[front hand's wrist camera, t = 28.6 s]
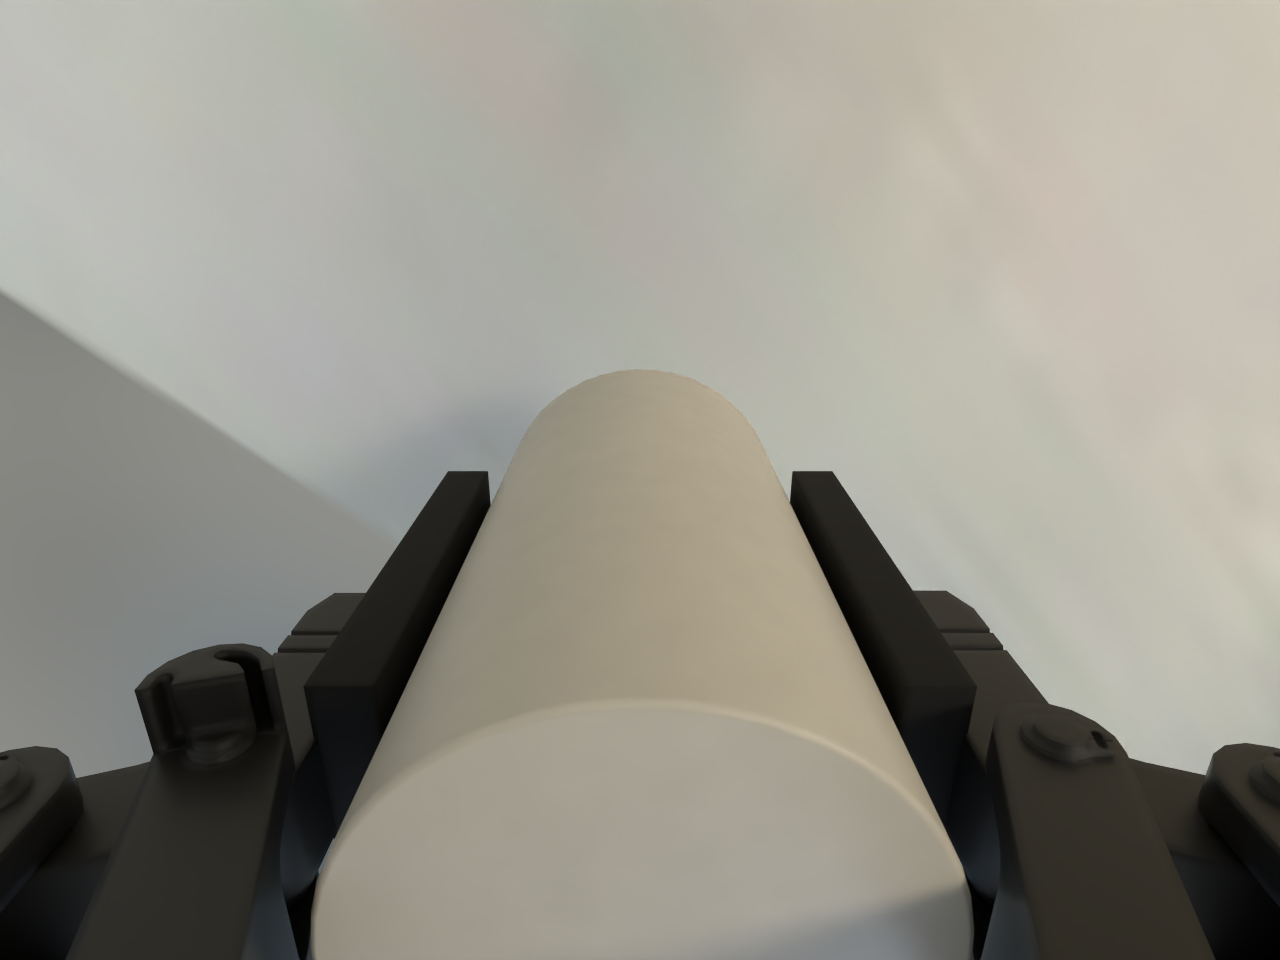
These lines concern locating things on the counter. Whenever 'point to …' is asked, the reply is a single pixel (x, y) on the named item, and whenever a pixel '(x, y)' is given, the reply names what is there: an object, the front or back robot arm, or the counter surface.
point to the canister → (641, 726)
